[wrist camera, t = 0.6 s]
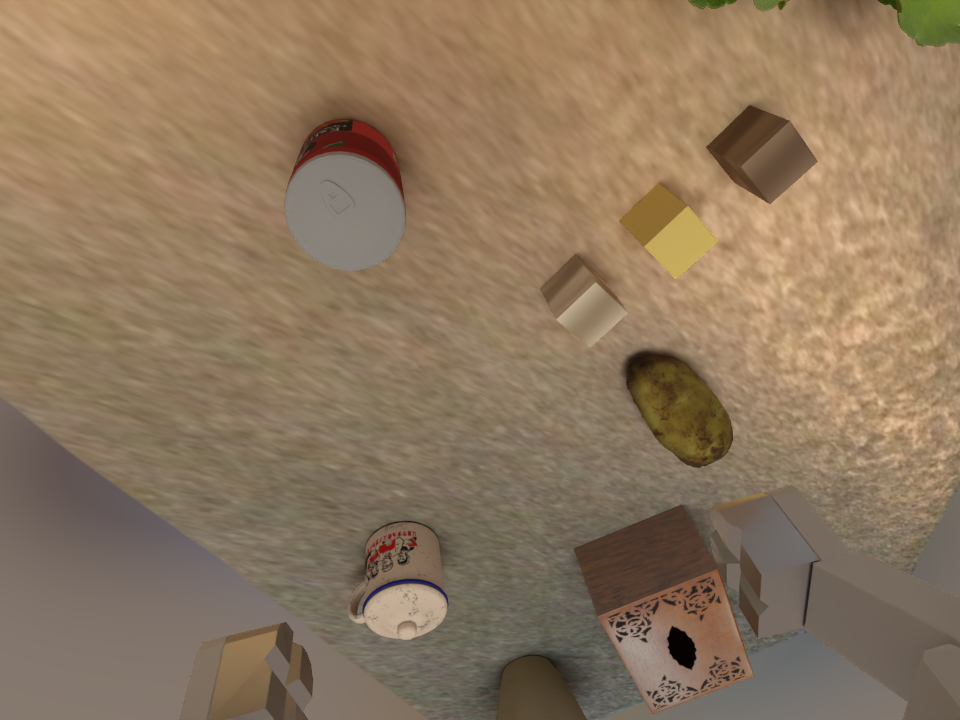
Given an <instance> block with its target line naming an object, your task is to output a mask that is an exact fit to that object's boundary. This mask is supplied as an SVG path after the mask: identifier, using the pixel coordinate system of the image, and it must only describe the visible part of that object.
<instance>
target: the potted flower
mask: <svg viewBox="0 0 960 720" xmlns="http://www.w3.org/2000/svg"><path fill="white" fill-rule="evenodd" d="M736 1H737V0H689V2H690V3H691V4H692V5H694V6H696V7H698V8H700V9H704V8H705V5H707V6H708V7H709V8H711V9H717V8H719V7H721V6H724V3H727V4H733V3H734V2H736ZM753 1H754V4H755V6H756V8H757V9H758V10H760V11H767V10H770V9H772V8H774V7H775V6H776V5H777V4H778V7H779V9H780V10H782V9H783V7H784V6H785V5H786V2H787V1H789V0H753ZM878 1H879V2H880V3H882V4H884V5H888V4H890V5H891V6H892V7H893V8H894V9H896V10H897V15H898V22H899V26H900V28H901V29H902V30H903V31H904V32H905V33H906V34H907V35H908V36H909V37H912V39H915V40H916V43H917V44H918V45H920V46H922V47H923V46H926V45H930V46H935V47H940V46H945V45H946V44H947V43H956V44H960V26H957V25H958V24H960V0H878Z"/></svg>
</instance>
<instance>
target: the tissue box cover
mask: <svg viewBox="0 0 960 720" xmlns="http://www.w3.org/2000/svg"><path fill="white" fill-rule="evenodd" d="M574 550H575V553H576V556H577V559H578V562H579V564H580V567H581V570H582V573H583V576H584V579H585V582H586V585H587V587H588V590H589V593H590V596H591V599H592V602H593V605H594V608H595V611H596V613H597V616H598V618H599V620H600V622H601V623H602V625H603V627H604V629H605V631H606V632H607V634H608V636H609V638H610V639H611V641H612V643H613V645H614V646H615V648H616V650H617V652H618V654H619V655H620V657H621V659H622V661H623V662H624V664H625V666H626V668H627V670H628V671H629V673H630V675H631V677H632V678H633V680H634V682H635V684H636V686H637V687H638V689H639V691H640V693H641V694H642V696H643V698H644V700H645V702H646V703H647V705H648V707H649V709H650V710H651V712H652V714H655V713H657V712H660V711H663V710H666V709H668V708H671V707H674V706H676V705H679V704H681V703H684V702H687V701H690V700H692V699H695V698H698V697H700V696H703V695H706V694H708V693H711V692H714V691H716V690H719V689H721V688H725V687H727V686H730V685H733V684H735V683H737V682H741V681H743V680H746V679H749V678H751V677H753V676H754V675H753V672H752V669H751V666H750V663H749V660H748V656H747V653H746V650H745V647H744V644H743V641H742V638H741V635H740V632H739V629H738V626H737V623H736V620H735V617H734V614H733V611H732V608H731V605H730V602H729V599H728V596H727V593H726V590H725V587H724V584H723V581H722V578H721V575H720V572H719V570H718V568H717V565H716V563H715V562H714V560H713V558H712V557H711V555H710V553H709V551H708V550H707V548H706V546H705V544H704V543H703V541H702V539H701V537H700V536H699V534H698V532H697V530H696V529H695V527H694V525H693V523H692V522H691V520H690V518H689V516H688V515H687V513H686V511H685V509H684V508H683V506H682V505H679V506H677V507H674V508H672V509H670V510H667V511H665V512H662V513H660V514H657V515H655V516H652V517H650V518H648V519H645V520H643V521H640V522H638V523H635V524H633V525H630V526H628V527H626V528H623V529H621V530H618V531H616V532H613V533H611V534H608V535H606V536H604V537H601V538H599V539H596V540H594V541H591V542H589V543H587V544H584V545H582V546H579V547H577V548H574ZM677 628H678V629H677ZM672 630H673V631H672ZM669 631H670V632H669Z"/></svg>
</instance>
